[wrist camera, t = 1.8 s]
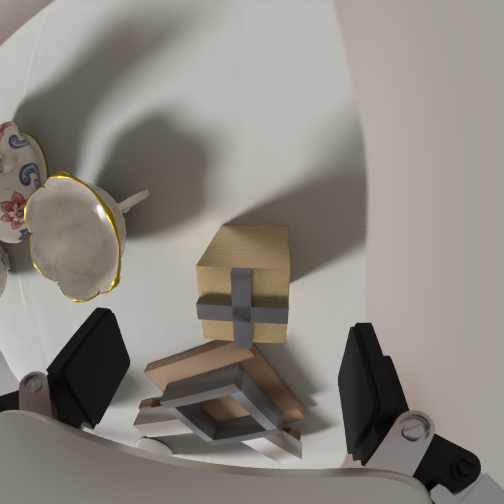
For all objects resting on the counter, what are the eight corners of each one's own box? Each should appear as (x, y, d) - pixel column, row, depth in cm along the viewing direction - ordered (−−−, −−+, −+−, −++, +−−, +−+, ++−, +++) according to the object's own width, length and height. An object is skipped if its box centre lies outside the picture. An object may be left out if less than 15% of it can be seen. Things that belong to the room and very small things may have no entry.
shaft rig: (322, 430, 28) (324, 456, 24) (205, 453, 32) (200, 474, 29) (242, 329, 23) (236, 361, 19) (115, 374, 27) (101, 398, 24)
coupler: (285, 285, 21) (285, 350, 14) (224, 283, 21) (201, 345, 15) (288, 226, 19) (290, 275, 13) (221, 225, 20) (192, 271, 13)
